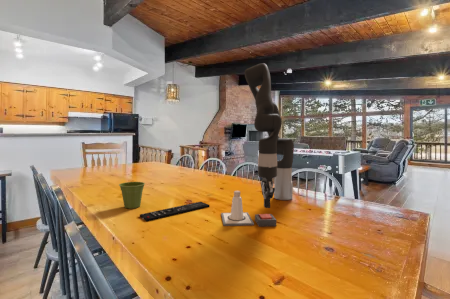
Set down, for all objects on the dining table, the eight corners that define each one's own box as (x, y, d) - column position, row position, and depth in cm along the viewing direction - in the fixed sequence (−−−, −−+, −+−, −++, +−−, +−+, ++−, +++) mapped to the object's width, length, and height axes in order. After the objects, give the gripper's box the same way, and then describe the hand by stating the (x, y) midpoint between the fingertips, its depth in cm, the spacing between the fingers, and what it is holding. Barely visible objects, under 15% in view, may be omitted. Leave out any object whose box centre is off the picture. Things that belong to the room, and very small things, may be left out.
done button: (269, 218, 104) (269, 213, 104) (271, 221, 100) (271, 217, 100) (259, 218, 103) (259, 214, 103) (261, 222, 99) (261, 217, 99)
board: (247, 213, 113) (247, 211, 113) (254, 225, 99) (254, 222, 99) (221, 214, 112) (221, 212, 112) (223, 225, 98) (223, 223, 98)
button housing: (271, 219, 105) (271, 213, 105) (276, 226, 98) (276, 219, 98) (254, 220, 105) (255, 214, 105) (258, 226, 98) (258, 220, 98)
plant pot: (150, 206, 123) (149, 183, 122) (126, 212, 114) (125, 187, 113) (138, 201, 131) (137, 180, 130) (115, 206, 122) (114, 183, 121)
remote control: (138, 218, 108) (138, 213, 108) (200, 204, 129) (200, 200, 129) (146, 223, 102) (146, 218, 102) (209, 208, 123) (209, 204, 123)
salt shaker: (229, 215, 108) (230, 189, 107) (242, 214, 109) (242, 189, 108) (231, 219, 103) (231, 192, 102) (244, 219, 103) (244, 192, 102)
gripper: (254, 162, 106) (254, 203, 107) (262, 167, 93) (261, 213, 94) (272, 162, 107) (271, 202, 108) (282, 166, 94) (281, 212, 95)
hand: (267, 207), depth 101 cm, fingers closed
